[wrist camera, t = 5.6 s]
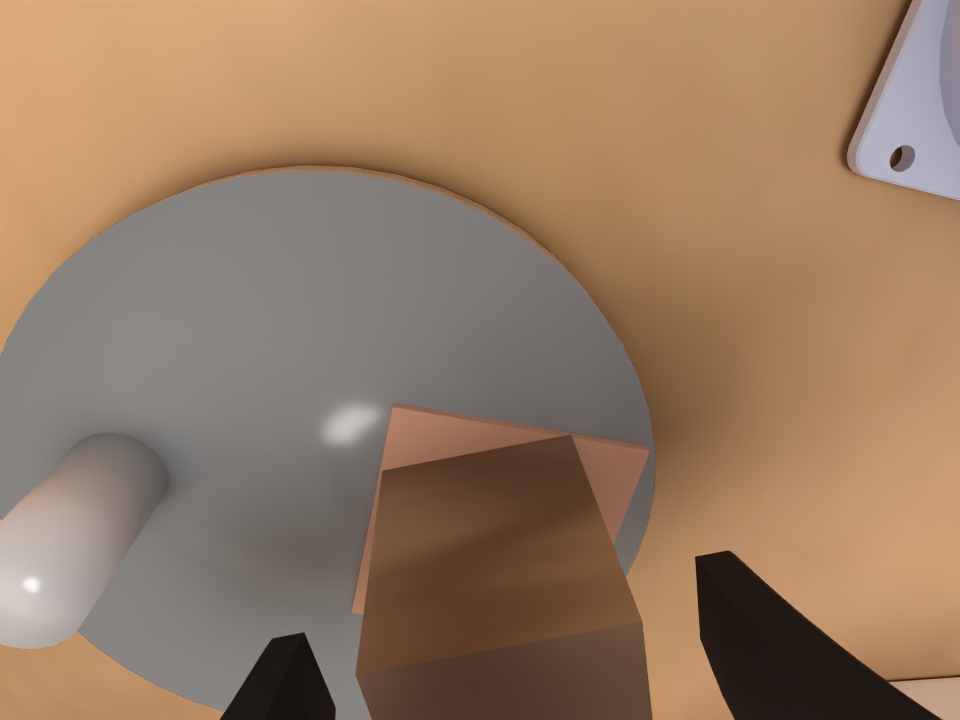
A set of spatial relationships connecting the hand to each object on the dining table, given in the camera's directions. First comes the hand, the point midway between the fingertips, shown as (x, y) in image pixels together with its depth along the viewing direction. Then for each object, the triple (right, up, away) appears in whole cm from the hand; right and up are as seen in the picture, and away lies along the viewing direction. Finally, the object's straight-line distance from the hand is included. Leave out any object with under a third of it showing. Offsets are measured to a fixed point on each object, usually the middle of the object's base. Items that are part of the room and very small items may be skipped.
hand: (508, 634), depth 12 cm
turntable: (-4, +3, +4) cm, 6 cm away
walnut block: (0, +1, +2) cm, 3 cm away
